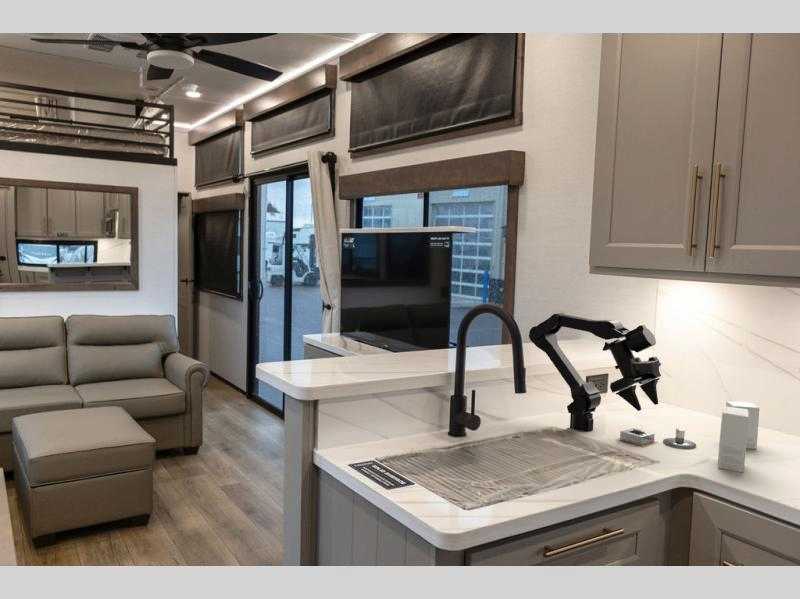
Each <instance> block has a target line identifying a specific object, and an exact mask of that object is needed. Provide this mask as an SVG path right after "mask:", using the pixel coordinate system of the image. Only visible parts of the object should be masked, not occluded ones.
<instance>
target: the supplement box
mask: <svg viewBox="0 0 800 599" xmlns="http://www.w3.org/2000/svg"><path fill="white" fill-rule="evenodd" d="M725 403H726V405H725V406H726V407H733V408H742V409H748V412H749V424H748V435H747V446H746V449H749V450H751V449H752V450H756V449H758V448H757V447H758V436H759V435H758V434H759V421H760V420H759V419H760V417H759V416H760V407H759V406H757V405H755V404H754V403H752V402H749V401H729V400H727V401H726V402H725Z"/></svg>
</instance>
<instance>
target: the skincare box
mask: <svg viewBox="0 0 800 599" xmlns="http://www.w3.org/2000/svg"><path fill="white" fill-rule="evenodd" d="M748 424H749V412H748V409H742V408H733V407H726V405H723V406H722V411H721V421H720V432H719V433H720V434H719V444H718V455H717V458H718V460H717V468H718V469H722V470H726V471H732V472H740V473H744V472H745V464H746V463H745V462H746V452H747V448H746V446H747V435H748Z"/></svg>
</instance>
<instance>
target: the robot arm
mask: <svg viewBox="0 0 800 599" xmlns="http://www.w3.org/2000/svg"><path fill="white" fill-rule="evenodd" d="M562 327H563V328H567V329H568V328H569V329H572V330H577V331H583V332H588V333H590V334H592V335H594V336H595V337H597V338H600V339H602V340H607V341H605V342H604V345H603V348H602V351H603V352H605V351H610V353H611V355H612V357H613V359H614V361H615V364H616V365H615V366H614V368H615V370H619V372H620V374H621V377H622V378H620V379H616V380H615V381H612V382H610V385H609V389H610V391H611V393H612V394H614V393H615V395H617V396H619V397H620V398H622V399H623V400H624V401H625V402H627V403H628V405H630V406H632V407H633V409H635V410H636V411H638V412H639V411H642V407H641V403H640V401H639V399H638V395H637V392H636V390H637V384H639V387H640V389H641V390H642V391H643V393H645V395H646V397H647V398H648V399H649V400H650V401H651V402H652V403H653V405H654V406H656V405H658V404H659V397H658V390H657V385H658V382H659V380H660V379H661V378H660V377H662V375H661V372H660V367H661V366H662V363H661V362H660V360H659V358H658V357H657V356H651V357H648V360H644V361H642V360H641V358H640V357H636V356H635V354H634V352H635V353H641V352H642V351H644V350H647V349H649V348H650V347H653V346H655V345H657V341H656V337H655V334H654V333H653V332H652V331H651V330H650V329H649V328H647V326H646V324H641V325H639V326H637V327H636V328H634V329H632V330H631V329H630V328H627V327H626V326H624V324H622V321H620V320H618V319H592V318H585V317H582V316H575V315H569V314H566V313H563V312H559V313H553V314H552V315H551V316H549V318H547V319H545V320H544V321H542V322H540V323H539V324H537V325H535V326H532V327H531V328H530V329H529V333H528V334H529V335H528V338H529V340H530V342H532V344H533V345H535V347H536V348H537V349H539V350H541V351H542V352H544V353H545V355H546V356H547V357H548V358H549V360H550V361H551V363H552V364H553V366H554V367H555V368H556V370H557V371H558V373H559V374H560V376H561V377H562V378H563V380H564V381H565V383H566V384H567V385H568V387H569V388H570V389H569V390H570V396H571V398H572V401H571V403H569V404H568V405H567V406H566V408H567V412H568V414H570V418H569V427H567V428H566V430H569V429H573V430H575V431H580V432H588V433H590V432H593V431H594V420H595V419H594V418H593V415H594V413H593V412H596V410H597V407H599V406H600V404H601V402H602V397H601V394H600V393H601V391H600V390H599V389H598V388H597V387H596V385H595V383H594V382H593V381H589V382H587V381H585V380H583V378H582V377H581V375H580V374H579V373H578V371H577V370H576V368H575V367H574V366H573V364H572V363H571V362H570V360H569V358H568V357H567V355H566V354H565V353H564V351H563V350H562V349H561V347H560V345H559V344H558V337H557V335H556V334H557V333H559V331H560V330H561V329H562ZM623 338H624V339H623ZM608 340H609V341H608ZM610 340H613V341H611V342H610ZM634 384H635V385H634Z"/></svg>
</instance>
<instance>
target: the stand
mask: <svg viewBox="0 0 800 599" xmlns="http://www.w3.org/2000/svg"><path fill="white" fill-rule="evenodd" d="M637 429H638V428H636V429H634V430H633V433H634V434H638V435H642V431H641V430H642V429H639V430H637ZM615 441H617V442H620V443H621V442H622V443H625V444H629V445H631V446H632V445H633V446H636V447H639V448H646V447H648V446H653V445H655V444H659V443H660V442H659V441H656V440H654V442H652V443H649V444H646V445H643V446H639V445H636V444H632V443H629V442H625V441H622V440H620V437H619V438H616V439H615Z"/></svg>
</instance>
